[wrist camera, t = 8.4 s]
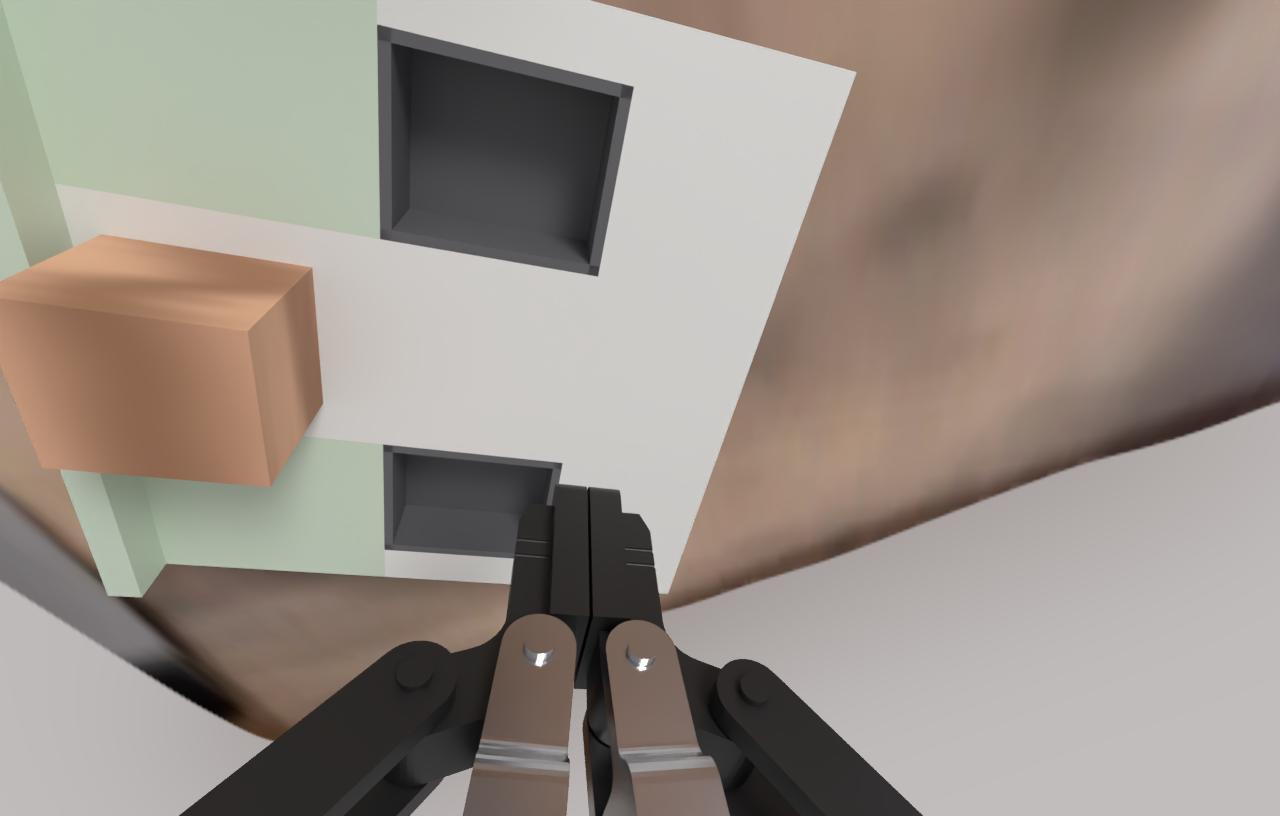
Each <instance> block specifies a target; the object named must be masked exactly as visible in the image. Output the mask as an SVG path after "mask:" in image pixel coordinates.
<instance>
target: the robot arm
mask: <svg viewBox="0 0 1280 816" xmlns="http://www.w3.org/2000/svg"><path fill="white" fill-rule="evenodd" d="M652 550H653V548H652V541H651V534H650V530H649V528H648V527H647V525H646V524H645V522H644V521H643V519H642V518H641V516H640V514H633V513H623V512H622V505H621V494H620V490H616V489H606V488H597V487H588V489H587V487H586V486H576V485H567V484H557V483H556V484H555V488H554V493H553V499H552V505H551V506H550V505H540V504H530V505H529V506H528V508H527V509H526V510H525V512H524V513H523V515H522V516H521V517H520V519H519V525H518V532H517V539H516V546H515V553H514V560H513V567H512V575H511V584H510V592H509V601H508V609H507V617H506V622H505V624H504V626H503V627H502V629H501V630H500V631H499V632H498V634H497V635H495V636H494V637H493V638H492V639H491V640H489V641H488V642H486V643H484V644H482V645H480V646H477V647H474V648H471V649H467V650H463V651H459V652H455V653H450V652H449V651H448V650H447V649H446V648H444V647H443V646H441V645H439V644H437V643H433V642H430V641H413V642H408V643H405V644H402V645H399V646H397V647H395V648H393V649H392V650H390V651H389V652H388V653H386V654H385V655H384V656H382V657H381V658H380V659H379V660H377V661H376V662H375V663H373V664H372V665H371V666H370V667H368V668H367V669H366V670H364V671H363V672H362V673H361V674H359V675H358V676H357V677H356V678H354V679H353V680H352V681H350V682H349V683H348V684H347V685H345V686H344V687H343V688H341V689H340V690H339V691H338V692H336V693H335V694H334V695H333V696H331V697H330V698H329V699H327V700H326V701H325V702H324V703H322V704H321V705H320V706H318V707H317V708H316V709H315V710H313V711H312V712H311V713H310V714H308V715H307V716H306V717H304V718H303V719H302V720H301V721H299V722H298V723H297V724H295V725H294V726H293V727H292V728H290V729H289V730H288V731H287V732H285V733H284V734H283V735H281V736H280V737H279V738H278V739H276V740H275V741H274V742H273V743H271V744H270V745H269V746H268V747H266V748H265V749H264V750H262V751H261V752H260V753H258V754H257V755H256V756H255V757H253V758H252V759H251V760H249V761H248V762H247V763H246V764H244V765H243V766H242V767H241V768H239V769H238V770H237V771H235V772H234V773H233V774H232V775H230V776H229V777H228V778H227V779H225V780H224V781H223V782H222V783H220V784H219V785H218V786H216V787H215V788H214V789H213V790H211V791H210V792H209V793H207V794H206V795H205V796H203V797H202V798H201V799H200V800H198V801H197V802H196V803H195V804H193V805H192V806H191V807H189V808H188V809H187V810H186V811H184V812H183V813H182V814H180V815H179V816H410V815H411V813H413V812H414V810H415V809H416V808H417V807H418V806H419V805H420V804H421V803H422V802H423V801H424V800H425V799H426V798H427V797H428V795H429V794H430V793H431V792H432V791H433V790H434V789H435V788H436V787H437V786H438V785H439V783H440V782H441V781H442V780H443V778H444V777H446V776H449V775H451V774H454V773H457V772H460V771H463V770H466V769H469V768H472V767H473V770H472V775H471V780H470V785H469V790H468V794H467V799H466V803H465V808H464V812H463V816H566V812H567V800H568V787H569V773H570V762H569V758H568V741H569V730H570V718H571V706H572V695H573V684H574V688H575V689H587V710H586V713H585V717H584V720H583V740H584V754H585V766H586V779H587V791H588V803H589V816H923V815H922V814H921V813H919V812H918V811H917V810H916V809H915V808H914V807H913V806H912V805H911V804H910V803H909V802H908V801H907V800H906V799H905V798H904V797H903V796H902V795H901V794H899V793H898V791H896V790H895V789H894V788H893V787H892V786H891V785H890V784H889V783H888V782H887V781H886V780H885V779H884V778H883V777H882V776H881V775H880V774H879V773H878V772H877V771H876V770H874V768H873V767H871V766H870V765H869V764H868V763H867V762H866V761H865V760H864V759H863V758H862V757H861V756H860V755H859V754H858V753H857V752H856V751H855V750H854V749H853V748H851V747H850V745H848V744H847V743H846V742H845V741H844V740H843V739H842V738H841V737H840V736H839V735H838V734H837V733H836V732H835V731H834V730H833V729H832V728H831V727H830V726H829V725H828V724H826V723H825V722H824V721H823V720H822V719H821V718H820V717H819V716H818V715H817V714H816V713H815V712H814V711H813V710H812V709H811V708H810V707H809V706H808V705H807V704H806V703H805V702H804V701H803V700H801V699H800V698H799V697H798V696H797V695H796V694H795V693H794V692H793V691H792V690H791V689H790V688H789V687H788V686H787V685H786V684H785V683H784V682H783V681H782V680H781V679H780V678H779V677H777V676H776V675H775V674H774V673H773V672H772V671H771V670H769V669H768V668H767V667H765V666H764V665H762V664H760V663H758V662H755V661H752V660H747V659H738V660H733V661H731V662H729V663H727V664H726V665H725V666H724V667H723V668H722V669H720V668H717V667H714V666H712V665H709V664H706V663H704V662H701V661H698V660H696V659H694V658H691V657H689V656H688V655H686V654H684V653H683V652H682V651H680V650H679V649H678V648H677V647H676V646H675V645H674V643H673V641H672V640H671V638H670V637H669V635H668V634H667V633H666V631H665V629H664V625H663V620H662V613H661V606H660V599H659V591H658V584H657V577H656V570H655V568H654V565H655V563H654V555H653V553H652Z"/></svg>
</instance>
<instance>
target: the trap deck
mask: <svg viewBox="0 0 1280 816" xmlns="http://www.w3.org/2000/svg"><path fill="white" fill-rule="evenodd" d="M855 75H856V72H854V71H850V70H846V69H843V68H839V67H835V66H831V65H828V64H824V63H820V62H817V61H813V60H809V59H806V58H802V57H798V56H794V55H791V54H787V53H783V52H780V51H776V50H772V49H768V48H765V47H761V46H757V45H754V44H750V43H746V42H743V41H739V40H735V39H731V38H728V37H724V36H720V35H717V34H713V33H709V32H706V31H702V30H698V29H694V28H691V27H687V26H683V25H680V24H676V23H672V22H668V21H665V20H661V19H657V18H654V17H650V16H646V15H643V14H639V13H635V12H631V11H628V10H624V9H620V8H617V7H613V6H609V5H606V4H602V3H598V2H594V1H591V0H0V281H2V280H4V279H6V278H8V277H10V276H12V275H14V274H17V273H19V272H21V271H23V270H25V269H27V268H30V267H32V266H34V265H36V264H38V263H40V262H42V261H45V260H47V259H49V258H51V257H53V256H55V255H58V254H60V253H62V252H64V251H66V250H68V249H71V248H73V247H75V246H77V245H79V244H81V243H83V242H86V241H88V240H90V239H92V238H94V237H96V236H99V235H101V234H104V235H110V236H116V237H123V238H129V239H135V240H142V241H148V242H155V243H161V244H167V245H174V246H180V247H186V248H193V249H199V250H205V251H212V252H218V253H224V254H231V255H237V256H244V257H250V258H256V259H263V260H269V261H275V262H282V263H288V264H294V265H301V266H307V267H312V269H313V281H314V294H315V306H316V319H317V331H318V344H319V357H320V369H321V382H322V394H323V405H322V406H321V408H320V409H319V411H318V413H317V414H316V416H315V417H314V419H313V421H312V422H311V424H310V425H309V427H308V429H307V430H306V432H305V433H304V435H303V436H302V438H301V440H300V441H299V443H298V444H297V446H296V448H295V449H294V451H293V452H292V454H291V456H290V457H289V459H288V460H287V462H286V464H285V465H284V467H283V468H282V470H281V472H280V473H279V475H278V476H277V478H276V480H275V481H274V483H273V484H272V486H271V487H261V486H249V485H238V484H226V483H214V482H202V481H191V480H179V479H167V478H155V477H143V476H132V475H120V474H108V473H96V472H85V471H73V470H61V469H60V472H61V474H62V477H63V480H64V482H65V485H66V487H67V490H68V493H69V495H70V498H71V500H72V503H73V506H74V508H75V511H76V513H77V516H78V519H79V521H80V524H81V526H82V529H83V532H84V534H85V537H86V539H87V542H88V545H89V547H90V550H91V552H92V555H93V558H94V560H95V563H96V565H97V568H98V571H99V573H100V576H101V578H102V581H103V584H104V586H105V589H106V592H107V594H108V596H126V597H142V596H143V595H144V594H145V592H146V591H147V590H148V588H149V587H150V585H151V584H152V583H153V581H154V580H155V579H156V577H157V576H158V575H159V573H160V572H161V570H162V569H163V568H164V566H165V565H166V564H180V565H197V566H213V567H230V568H247V569H264V570H280V571H297V572H314V573H331V574H347V575H364V576H381V577H398V578H414V579H431V580H448V581H465V582H481V583H498V584H511V575H512V567H513V560H514V553H515V546H516V539H517V532H518V525H519V519H520V517H521V516H522V515H523V513H524V512H525V510H526V509H527V508H528V506H529V505H530V504H540V505H550V506H551V505H552V499H553V493H554V488H555V484H556V483H557V484H567V485H576V486H586V487H587V489H588V487H597V488H606V489H616V490H620V494H621V505H622V512H623V513H633V514H640V516H641V518H642V519H643V521H644V522H645V524H646V525H647V527H648V528H649V530H650V534H651V541H652V548H653V550H652V553H653V555H654V563H655V565H654V568H655V570H656V577H657V584H658V591H659V593H666V594H668V592H669V589H670V586H671V583H672V581H673V578H674V575H675V572H676V570H677V567H678V564H679V561H680V559H681V556H682V553H683V550H684V548H685V545H686V542H687V539H688V537H689V534H690V531H691V528H692V525H693V523H694V520H695V517H696V514H697V512H698V509H699V506H700V503H701V501H702V498H703V495H704V492H705V490H706V487H707V484H708V481H709V479H710V476H711V473H712V470H713V467H714V465H715V462H716V459H717V456H718V454H719V451H720V448H721V445H722V443H723V440H724V437H725V434H726V432H727V429H728V426H729V423H730V421H731V418H732V415H733V412H734V409H735V407H736V404H737V401H738V398H739V396H740V393H741V390H742V387H743V385H744V382H745V379H746V376H747V374H748V371H749V368H750V365H751V362H752V360H753V357H754V354H755V351H756V349H757V346H758V343H759V340H760V338H761V335H762V332H763V329H764V327H765V324H766V321H767V318H768V316H769V313H770V310H771V307H772V304H773V302H774V299H775V296H776V293H777V291H778V288H779V285H780V282H781V280H782V277H783V274H784V271H785V269H786V266H787V263H788V260H789V258H790V255H791V252H792V249H793V246H794V244H795V241H796V238H797V235H798V233H799V230H800V227H801V224H802V222H803V219H804V216H805V213H806V211H807V208H808V205H809V202H810V200H811V197H812V194H813V191H814V188H815V186H816V183H817V180H818V177H819V175H820V172H821V169H822V166H823V164H824V161H825V158H826V155H827V153H828V150H829V147H830V144H831V142H832V139H833V136H834V133H835V130H836V128H837V125H838V122H839V119H840V117H841V114H842V111H843V108H844V106H845V103H846V100H847V97H848V95H849V92H850V89H851V86H852V83H853V81H854V78H855Z"/></svg>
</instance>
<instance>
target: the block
mask: <svg viewBox="0 0 1280 816" xmlns="http://www.w3.org/2000/svg"><path fill="white" fill-rule="evenodd" d="M0 366H1V368H2V371H3V373H4V376H5V378H6V380H7V383H8V385H9V388H10V390H11V393H12V395H13V398H14V400H15V403H16V405H17V408H18V410H19V412H20V415H21V417H22V420H23V422H24V425H25V427H26V430H27V432H28V435H29V437H30V440H31V442H32V444H33V447H34V449H35V452H36V454H37V457H38V459H39V462H40V464H41V467H42V468H49V469H61V470H73V471H85V472H96V473H108V474H120V475H132V476H143V477H155V478H167V479H179V480H191V481H202V482H214V483H226V484H238V485H249V486H261V487H271V486H272V484H273V483H274V481H275V480H276V478H277V476H278V475H279V473H280V472H281V470H282V468H283V467H284V465H285V464H286V462H287V460H288V459H289V457H290V456H291V454H292V452H293V451H294V449H295V448H296V446H297V444H298V443H299V441H300V440H301V438H302V436H303V435H304V433H305V432H306V430H307V429H308V427H309V425H310V424H311V422H312V421H313V419H314V417H315V416H316V414H317V413H318V411H319V409H320V408H321V406H322V405H323V394H322V382H321V369H320V357H319V344H318V331H317V319H316V306H315V294H314V281H313V269H312V267H307V266H301V265H294V264H288V263H282V262H275V261H269V260H263V259H256V258H250V257H244V256H237V255H231V254H224V253H218V252H212V251H205V250H199V249H193V248H186V247H180V246H174V245H167V244H161V243H155V242H148V241H142V240H135V239H129V238H123V237H116V236H110V235H104V234H101V235H99V236H96V237H94V238H92V239H90V240H88V241H86V242H83V243H81V244H79V245H77V246H75V247H73V248H71V249H68V250H66V251H64V252H62V253H60V254H58V255H55V256H53V257H51V258H49V259H47V260H45V261H42V262H40V263H38V264H36V265H34V266H32V267H30V268H27V269H25V270H23V271H21V272H19V273H17V274H14V275H12V276H10V277H8V278H6V279H4V280H2V281H0Z"/></svg>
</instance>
